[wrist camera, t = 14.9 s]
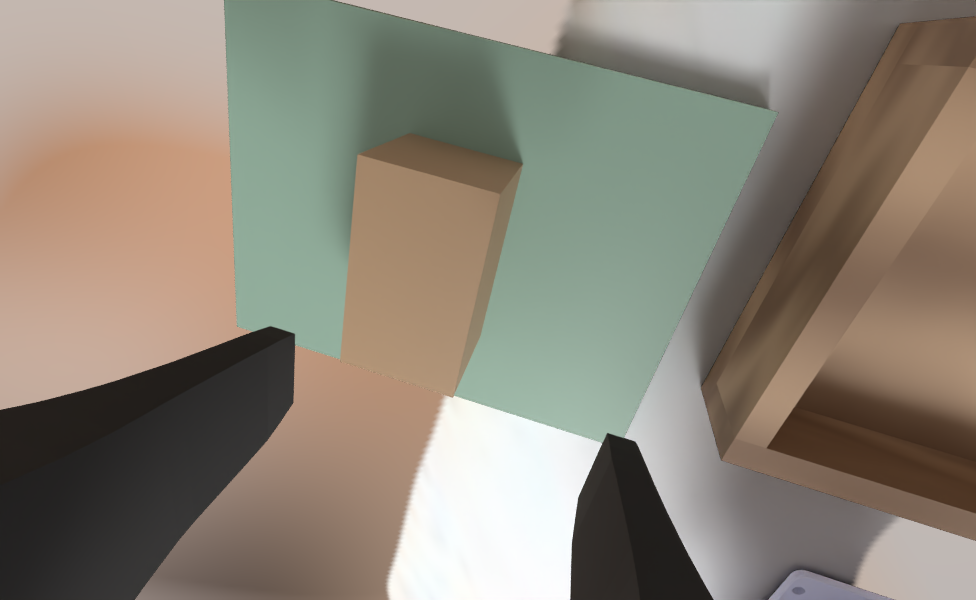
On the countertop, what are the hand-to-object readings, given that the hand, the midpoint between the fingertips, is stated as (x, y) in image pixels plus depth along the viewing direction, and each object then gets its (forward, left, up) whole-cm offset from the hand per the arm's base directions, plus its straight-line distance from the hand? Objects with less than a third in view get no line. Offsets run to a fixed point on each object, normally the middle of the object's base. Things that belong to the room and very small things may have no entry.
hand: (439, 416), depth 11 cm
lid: (0, +2, -9) cm, 10 cm away
